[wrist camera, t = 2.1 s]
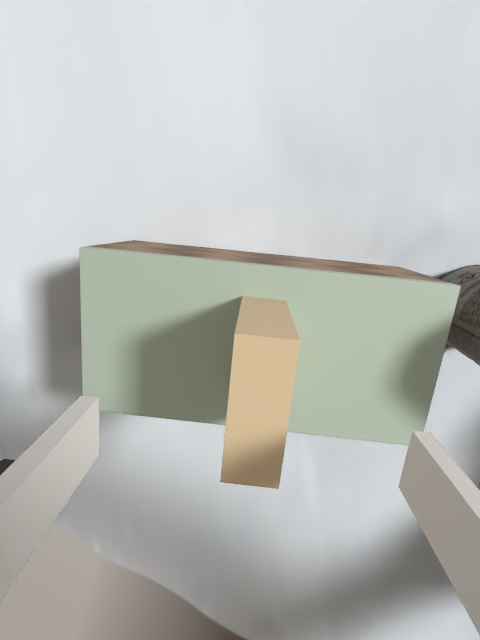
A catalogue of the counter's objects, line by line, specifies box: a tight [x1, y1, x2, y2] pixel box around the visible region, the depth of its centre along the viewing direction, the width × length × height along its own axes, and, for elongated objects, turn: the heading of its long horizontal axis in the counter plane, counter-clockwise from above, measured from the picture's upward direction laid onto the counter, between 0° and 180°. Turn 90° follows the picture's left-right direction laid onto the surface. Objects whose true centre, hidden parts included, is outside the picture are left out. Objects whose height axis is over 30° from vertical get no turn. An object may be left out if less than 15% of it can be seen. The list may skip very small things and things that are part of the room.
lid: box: [79, 246, 461, 489], centre depth 22 cm, size 26×12×10 cm, turn 85°
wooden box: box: [89, 240, 450, 283], centre depth 32 cm, size 26×12×10 cm, turn 85°
